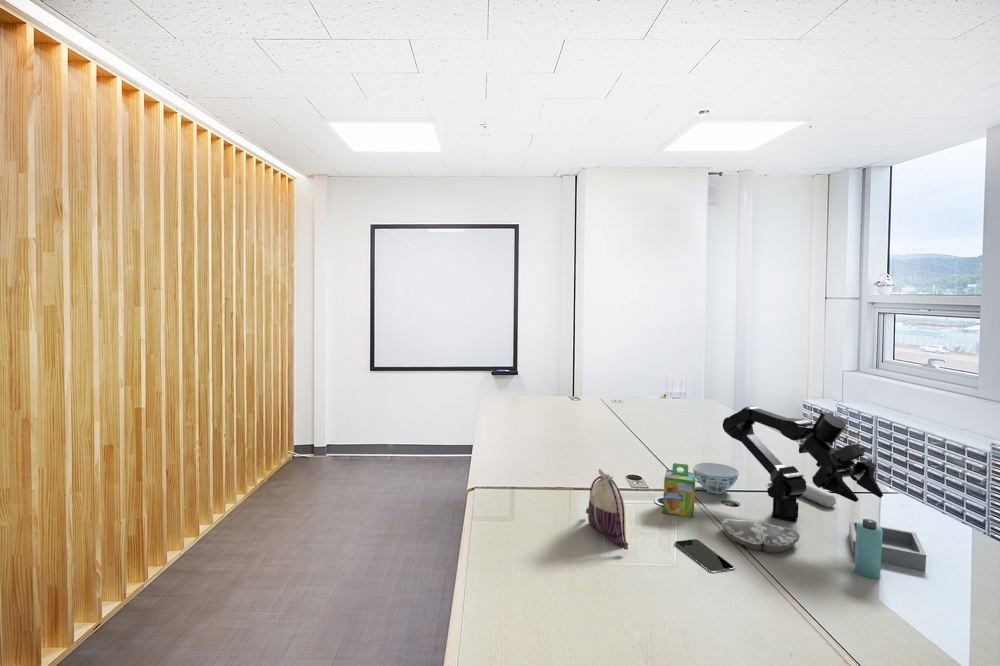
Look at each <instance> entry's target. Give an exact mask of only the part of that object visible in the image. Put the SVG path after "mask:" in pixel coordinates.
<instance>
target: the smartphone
mask: <svg viewBox="0 0 1000 666" xmlns="http://www.w3.org/2000/svg"><path fill="white" fill-rule="evenodd" d="M675 544H676V545H677V546H676V545H675ZM674 545H675V546H676V547H678V548H679V547H680V548H681V549H682V550H681V549H680V548H679V549H680V550H681V551H683V550H684V551H685V552H686V553H688V554H689V555H691V556H692V557H693V558H694V559H695V560H697V561H698V562H699V563H700V564H702V565H703V566H704V567H706V568H707V569H708V570H710V571H722V572H726V571H725V570H731V571H735V570H736V567H735V566H733V564H731V563H730V562H729V561H727V560H726V559H724V558H723V557H721V556H720V555H719V554H718V553H716V552H715V551H714V550H712V549H711V548H710V547H708V546H707V545H705V544H704V543H703V542H702V541H700V540H699V539H697V538H693V539H684V540H677V541H675V542H674ZM684 551H683V552H684ZM685 552H684V553H685ZM686 553H685V554H686ZM689 555H688V556H689ZM694 559H693V560H694ZM695 560H694V561H695ZM699 563H698V564H699ZM700 564H699V565H700ZM704 567H703V568H704ZM734 569H735V570H734Z"/></svg>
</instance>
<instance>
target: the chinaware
mask: <svg viewBox="0 0 1000 666" xmlns="http://www.w3.org/2000/svg"><path fill="white" fill-rule="evenodd" d="M692 471H693V472H692V473H695V475H696V477H695V480H697V482H698V483H699V484H700V485H701V486H702V487H703V488H704V491H705V490H707V491H709V492H711V493H710V494H713V493H716V494H715V495H723V494H725V493H726V491H728V490H729V489H730V488H732V487H733V486H734V485H735V484H736V482H737V480H738V478H739V474H740V471H739V470H738V469H737V468H736V467H734V466H730V465H727V464H722V463H715V462H699V463H695V464H693V465H692ZM707 491H706V492H707ZM709 492H708V493H709ZM722 493H723V494H722Z"/></svg>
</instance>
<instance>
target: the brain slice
mask: <svg viewBox="0 0 1000 666" xmlns="http://www.w3.org/2000/svg"><path fill="white" fill-rule="evenodd" d="M721 529H722V530H723V531H724V533H725V535H726V536H727V537H728V539H730V540H731V541H732V542H734V543H738V544H740V545H742V546H744V547H747V548H749V549H750V550H756V551H759V552H760V551H764V552H766V553H781V552H783V551H784V552H785V551H787V550H789V549H792V547H793V546H794V545H795V544H796V543H797V542H799V540H800V537H801V536H800V534H799V533H798V532H797V531H796V530H795V529H792V528H790V527H787V526H786V527H785V526H780V525H774V524H771V523H769V522H768V523H767V522H766V521H762V520H754V519H749V518H747V519H732V518H725V519H723V520H722V522H721Z"/></svg>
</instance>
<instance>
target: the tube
mask: <svg viewBox="0 0 1000 666" xmlns="http://www.w3.org/2000/svg"><path fill="white" fill-rule="evenodd" d="M769 480H770V482H772V481H771V476H770V475H769ZM803 496H804V498H805V497H806V499H808V500H810V501H812V502H814V501H815V502H814V503H816V502H817V503H816V504H818V503H819V504H818V505H820V504H821V506H822V505H823V507H825V506H826V508H832V507H834V506H836V504H837V501H836V496H835V495H833V493H832V492H830V491H828V490H825V489H823V488H818V487H817V486H816V485H812V484H811V483H808V482H806V491H805V492H804V493H803V495H802V497H803Z"/></svg>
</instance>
